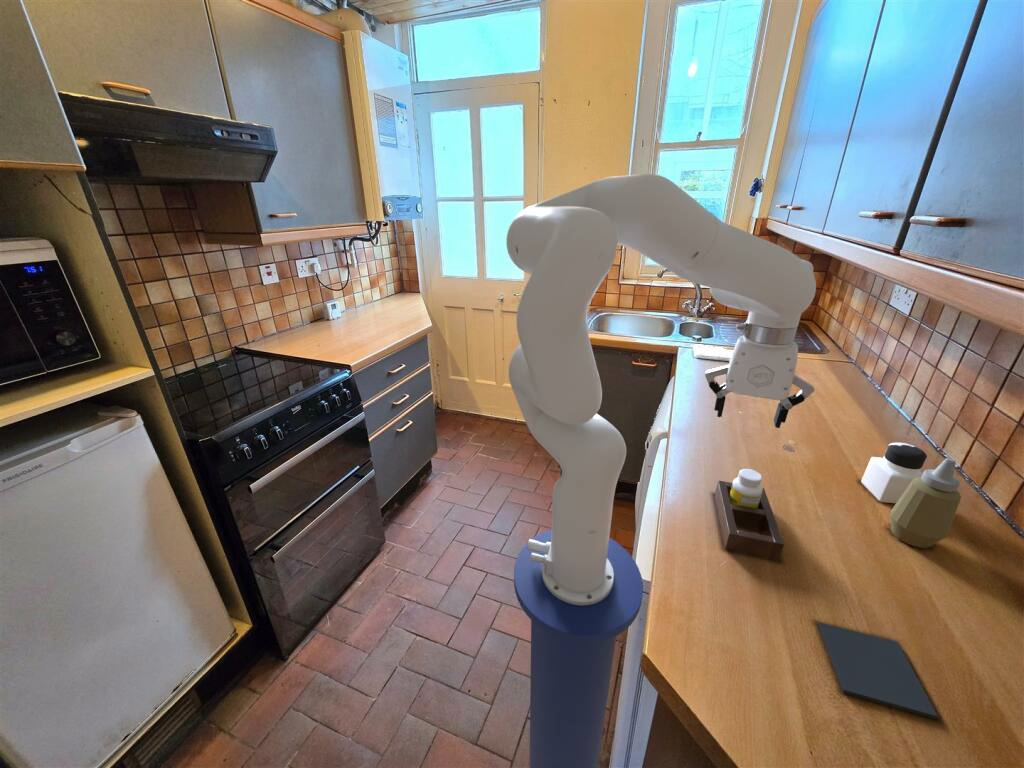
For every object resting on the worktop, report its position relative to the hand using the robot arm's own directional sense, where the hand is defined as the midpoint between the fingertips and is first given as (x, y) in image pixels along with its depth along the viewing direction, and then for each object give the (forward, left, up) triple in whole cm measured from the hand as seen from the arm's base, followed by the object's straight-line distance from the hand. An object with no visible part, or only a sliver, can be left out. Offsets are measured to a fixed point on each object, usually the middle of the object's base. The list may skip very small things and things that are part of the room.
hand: (747, 419), depth 77 cm
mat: (+15, -29, -22) cm, 39 cm away
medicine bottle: (+35, +16, -22) cm, 44 cm away
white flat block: (+11, +101, -22) cm, 104 cm away
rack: (+3, -4, -22) cm, 22 cm away
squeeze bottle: (+33, +2, -22) cm, 40 cm away
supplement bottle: (+3, 0, -22) cm, 22 cm away
